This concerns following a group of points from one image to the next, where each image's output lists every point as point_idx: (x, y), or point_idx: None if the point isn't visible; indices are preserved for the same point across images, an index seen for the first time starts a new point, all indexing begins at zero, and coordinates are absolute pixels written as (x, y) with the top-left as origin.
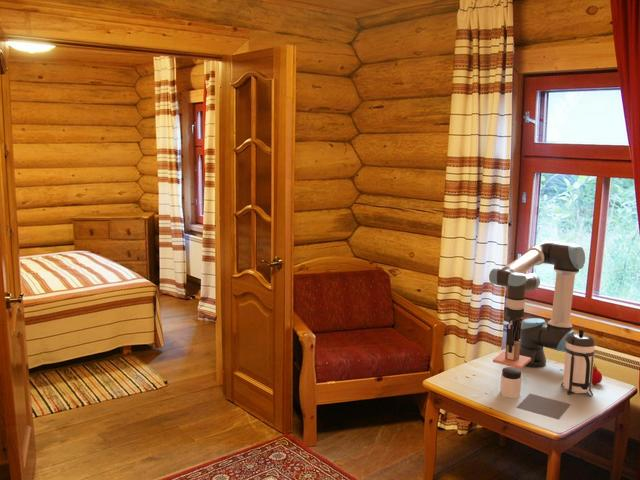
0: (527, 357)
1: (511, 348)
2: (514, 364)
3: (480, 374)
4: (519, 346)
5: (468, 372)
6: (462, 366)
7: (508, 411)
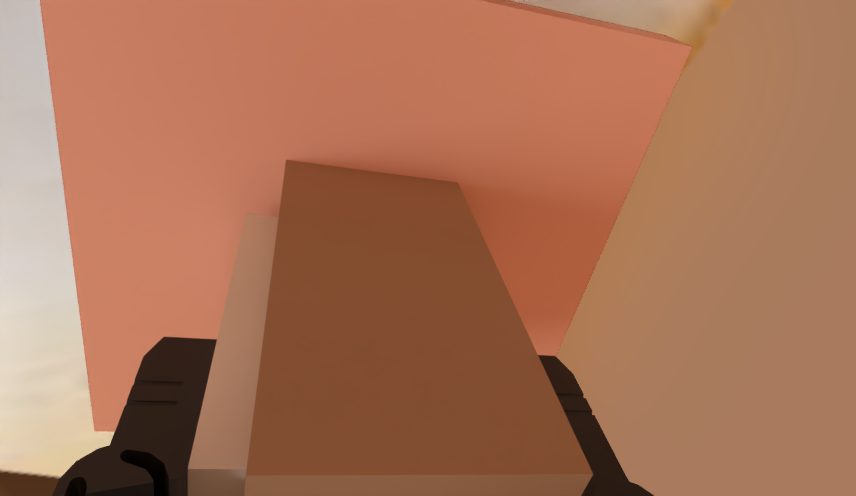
0: (85, 5)
1: (608, 443)
2: (627, 174)
3: (59, 350)
4: (307, 342)
5: (90, 414)
6: (11, 468)
7: (651, 24)
